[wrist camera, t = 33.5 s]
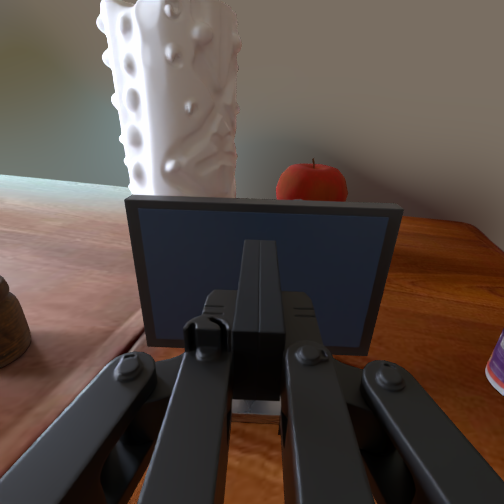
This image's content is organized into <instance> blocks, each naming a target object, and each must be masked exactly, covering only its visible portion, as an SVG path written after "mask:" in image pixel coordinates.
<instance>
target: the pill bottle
mask: <svg viewBox="0 0 504 504" xmlns="http://www.w3.org/2000/svg"><path fill="white" fill-rule="evenodd" d="M485 372H486V376H487V379H488V380H489V382H490V383H491V384H492V386H493V387H494V388H495V389H496V390H497V391H498V392H500V393H501V394H502V395H503V396H504V329H503V331H502V334H501V336H500V338H499V340H498V342H497V344H496V346H495V348H494V350H493V352H492V355H491V357H490V359H489V361H488V363H487V365H486V369H485Z"/></svg>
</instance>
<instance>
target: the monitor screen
mask: <svg viewBox="0 0 504 504" xmlns="http://www.w3.org/2000/svg"><path fill="white" fill-rule="evenodd" d="M124 202H125V208H126V214H127V220H128V227H129V233H130V239H131V246H132V252H133V258H134V265H135V271H136V277H137V284H138V290H139V296H140V303H141V309H142V315H143V321H144V328H145V334H146V340H147V346H148V347H170V348H185V346H184V335H183V327H184V326H185V324H186V323H187V322H188V321H190V320H191V319H192V318H194V317H197V316H200V315H202V311H203V308H204V305H205V301H206V298H207V296H208V295H209V294H210V293H211V292H212V291H213V290H214V289H217V290H238V284H239V276H240V269H241V261H242V254H243V246H244V240H272V241H276V246H277V255H278V265H279V274H280V283H281V291H294V292H305V293H306V294H307V295H308V296H309V298H310V299H311V300H312V304H313V307H314V311H315V315H316V319H317V322H318V326H319V330H320V334H321V337H322V341H323V345H324V346H325V347H326V348H327V349H328V350H329V351H330V353H331V354H332V355H353V356H367V355H368V351H369V347H370V343H371V339H372V335H373V331H374V327H375V323H376V319H377V315H378V311H379V307H380V303H381V299H382V295H383V291H384V287H385V283H386V279H387V275H388V271H389V267H390V263H391V259H392V255H393V251H394V247H395V243H396V239H397V235H398V231H399V227H400V223H401V219H402V215H403V211H404V209H402V208H401V207H400V206H398V205H397V204H394V203H393V204H392V203H365V202H363V203H362V202H336V201H307V200H277V199H248V198H219V197H190V196H161V195H131V196H129V197H128V198H126V199H125V200H124Z"/></svg>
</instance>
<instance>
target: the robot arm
mask: <svg viewBox="0 0 504 504" xmlns="http://www.w3.org/2000/svg"><path fill="white" fill-rule="evenodd" d="M183 335H184V346H185V352H184V353H183V354H181V355H179V356H177V357H174V358H171V359H167V360H162V361H157V362H155V361H154V359H153V358H152V357H151V355H149V354H147V353H144V352H130V353H125V354H123V355H120V356H118V357H116V358H115V359H113V360H112V361H111V362H110V363H108V364H107V365H106V366H105V367H104V368H103V370H102V371H101V372H100V373H99V374H98V375H97V376H96V377H95V378H94V379H93V380H92V381H91V382H90V383H89V385H88V386H87V387H86V388H85V389H84V390H83V391H82V392H81V393H80V394H79V395H78V396H77V397H76V398H75V400H74V401H73V402H72V403H71V404H70V405H69V406H68V407H67V408H66V409H65V410H64V411H63V412H62V413H61V414H60V416H59V417H58V418H57V419H56V420H55V421H54V422H53V423H52V424H51V425H50V426H49V427H48V428H47V429H46V431H45V432H44V433H43V434H42V435H41V436H40V437H39V438H38V439H37V440H36V441H35V442H34V443H33V444H32V446H31V447H30V448H29V449H28V450H27V451H26V452H25V453H24V454H23V455H22V456H21V457H20V458H19V459H18V460H17V462H16V463H15V464H14V465H13V466H12V467H11V468H10V469H9V470H8V471H7V472H6V473H5V474H4V475H3V477H2V478H1V479H0V504H127V503H128V501H129V500H130V498H131V496H132V494H133V492H134V490H135V489H136V487H137V485H138V483H139V481H140V480H141V478H142V476H143V474H144V472H145V470H146V469H147V467H148V465H149V467H148V471H147V474H146V477H145V480H144V483H143V487H142V490H141V493H140V496H139V499H138V502H137V504H224V494H225V483H226V472H227V462H228V451H229V440H230V430H231V419H232V399H235V400H258V401H280V398H281V411H280V422H279V432H278V435H281V447H282V464H283V482H284V500H285V504H375V502H374V498H375V500H376V502H377V504H504V481H503V480H502V479H501V478H500V477H499V475H498V474H497V473H496V472H495V471H494V470H493V468H492V467H491V466H490V465H489V464H488V463H487V461H486V460H485V459H484V458H483V457H482V456H481V455H480V453H479V452H478V451H477V450H476V449H475V448H474V446H473V445H472V444H471V443H470V442H469V441H468V440H467V438H466V437H465V436H464V435H463V434H462V433H461V431H460V430H459V429H458V428H457V427H456V426H455V424H454V423H453V422H452V421H451V420H450V419H449V418H448V416H447V415H446V414H445V413H444V412H443V411H442V409H441V408H440V407H439V406H438V405H437V404H436V402H435V401H434V400H433V399H432V398H431V397H430V396H429V394H428V393H427V392H426V391H425V390H424V389H423V387H422V386H421V385H420V384H419V383H418V382H417V381H416V379H415V378H414V377H413V376H412V375H411V374H410V373H409V372H408V371H407V370H405V369H404V368H402V367H401V366H399V365H397V364H395V363H392V362H388V361H385V360H375V361H372V362H370V363H368V364H367V365H366V366H365V367H364V370H363V369H359V368H356V367H353V366H349V365H346V364H344V363H341V362H339V361H338V360H336V359H334V358H333V356H332V354H331V353H330V351H329V350H328V349H327V348H326V347H325V346H324V345H323V341H322V337H321V334H320V330H319V326H318V322H317V319H316V315H315V311H314V307H313V304H312V300H311V299H310V298H309V296H308V295H307V294H306V293H305V292H294V291H281V283H280V274H279V265H278V255H277V246H276V241H272V240H244V246H243V254H242V261H241V269H240V276H239V284H238V290H217V289H214V290H213V291H212V292H211V293H210V294H209V295H208V296H207V298H206V301H205V305H204V308H203V311H202V315H200V316H197V317H194V318H192V319H191V320H190V321H188V322H187V323H186V324H185V326H184V327H183ZM149 463H150V464H149ZM372 494H373V495H372ZM373 496H374V498H373Z"/></svg>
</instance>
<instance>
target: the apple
mask: <svg viewBox="0 0 504 504" xmlns="http://www.w3.org/2000/svg"><path fill="white" fill-rule="evenodd" d="M312 160H313V164H295V165H292V166H290V167H289V168H287V169H286V170H285V171H284V172H283V173H282V174H281V176H280V179H279V182H278V185H277V188H276V195H277V200H298V199H302V200H307V201H336V202H345V201H346V198H347V195H348V191H347V186H346V181H345V178H344V176H343V175H342V174H341V173H340V171H339V170H338V169H336V168H333V167H329V166H326V165H320V164H314V158H313V159H312Z"/></svg>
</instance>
